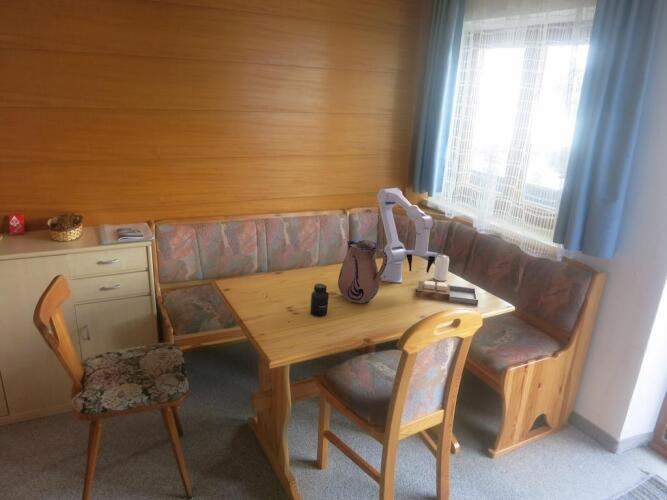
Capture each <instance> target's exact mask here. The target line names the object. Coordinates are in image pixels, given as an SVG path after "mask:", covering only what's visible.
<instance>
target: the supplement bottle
mask: <svg viewBox="0 0 667 500" xmlns="http://www.w3.org/2000/svg"><path fill="white" fill-rule="evenodd" d="M310 295H311V296H310V310H309V311H310V315H311V316H313V317H316V318H317V317H318V318H322V317H326V316H327V315H328V311H329V310H328V307H329V293H328V291H327V285H326V284H324V283H315V284H314V287H313V290H312V292H311V294H310Z"/></svg>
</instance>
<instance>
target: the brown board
mask: <svg viewBox="0 0 667 500" xmlns="http://www.w3.org/2000/svg"><path fill="white" fill-rule="evenodd" d="M424 284H425V281H422V280H421V281H420V280H419V281H418V284H417V291H416V297H417V298H424V299H431V300H432V299H433V300H441V301H448V302H449V297H450V285H451V284H447V291H443V290H437V282H435V288H434V289H427V288H424Z"/></svg>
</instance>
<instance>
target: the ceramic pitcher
mask: <svg viewBox="0 0 667 500" xmlns="http://www.w3.org/2000/svg"><path fill="white" fill-rule="evenodd" d="M376 253H379V254H380V255H382V263H381V265H380V268H379V269H378V265H377V260H376V256H375V254H376ZM387 259H388V257H387V254H386V252H385V251H384V249H382V248H380V247H379V246H378V244H377V242H374V241H370V240H363V239H362V240H359V241H357V242H356V241H353V240H348V241H347V251H346V255H345V257H344V260H343V262H342V265H341V269H340V271H339V274H338V279H337V284H338V285H337V286H338V290H339V292H340V294H341V295H342V297H343V298H344V299H345V300H347V301H348V302H350V303H357V304H364V303H367V302H370V301H371V300H373V299H374V297H376V295H377V294H378V292H379V290H380V279H381V278H382V273H383V272H384V269H385V267H386V265H387Z"/></svg>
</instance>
